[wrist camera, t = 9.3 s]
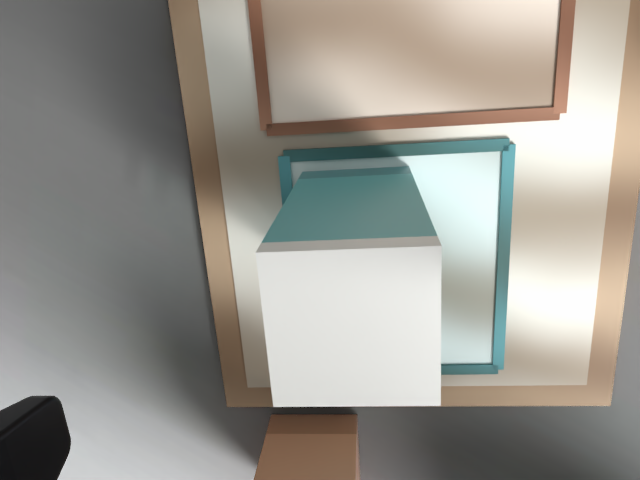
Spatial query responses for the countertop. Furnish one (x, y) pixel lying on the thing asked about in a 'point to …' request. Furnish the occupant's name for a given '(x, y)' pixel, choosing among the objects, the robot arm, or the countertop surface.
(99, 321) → the countertop surface
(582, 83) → the colouring board
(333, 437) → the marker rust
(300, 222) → the teal white tall block
